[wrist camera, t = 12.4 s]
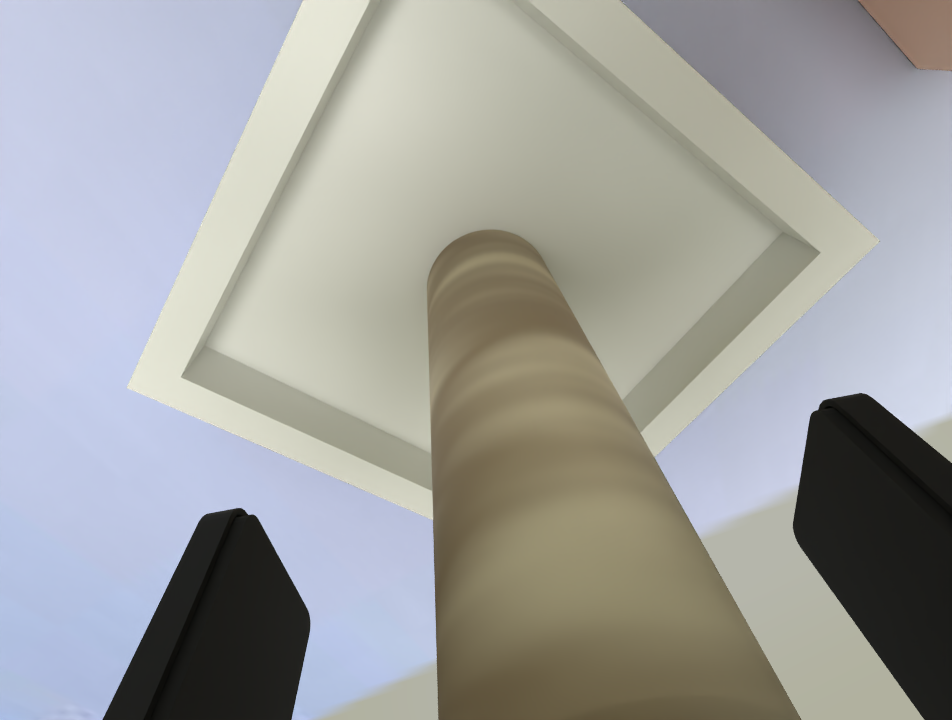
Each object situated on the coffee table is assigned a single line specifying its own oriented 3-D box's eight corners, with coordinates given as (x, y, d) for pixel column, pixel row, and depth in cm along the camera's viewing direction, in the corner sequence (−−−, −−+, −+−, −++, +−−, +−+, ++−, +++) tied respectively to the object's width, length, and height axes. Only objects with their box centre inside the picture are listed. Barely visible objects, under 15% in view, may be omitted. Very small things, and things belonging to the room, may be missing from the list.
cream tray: (403, -164, 13) (396, -207, 11) (825, 216, 18) (879, 241, 16) (163, 346, 19) (126, 387, 17) (530, 517, 24) (540, 566, 22)
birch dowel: (472, 204, 17) (616, 648, 4) (573, 272, 18) (891, 751, 6) (403, 307, 18) (369, 850, 6) (501, 362, 19) (636, 895, 7)
